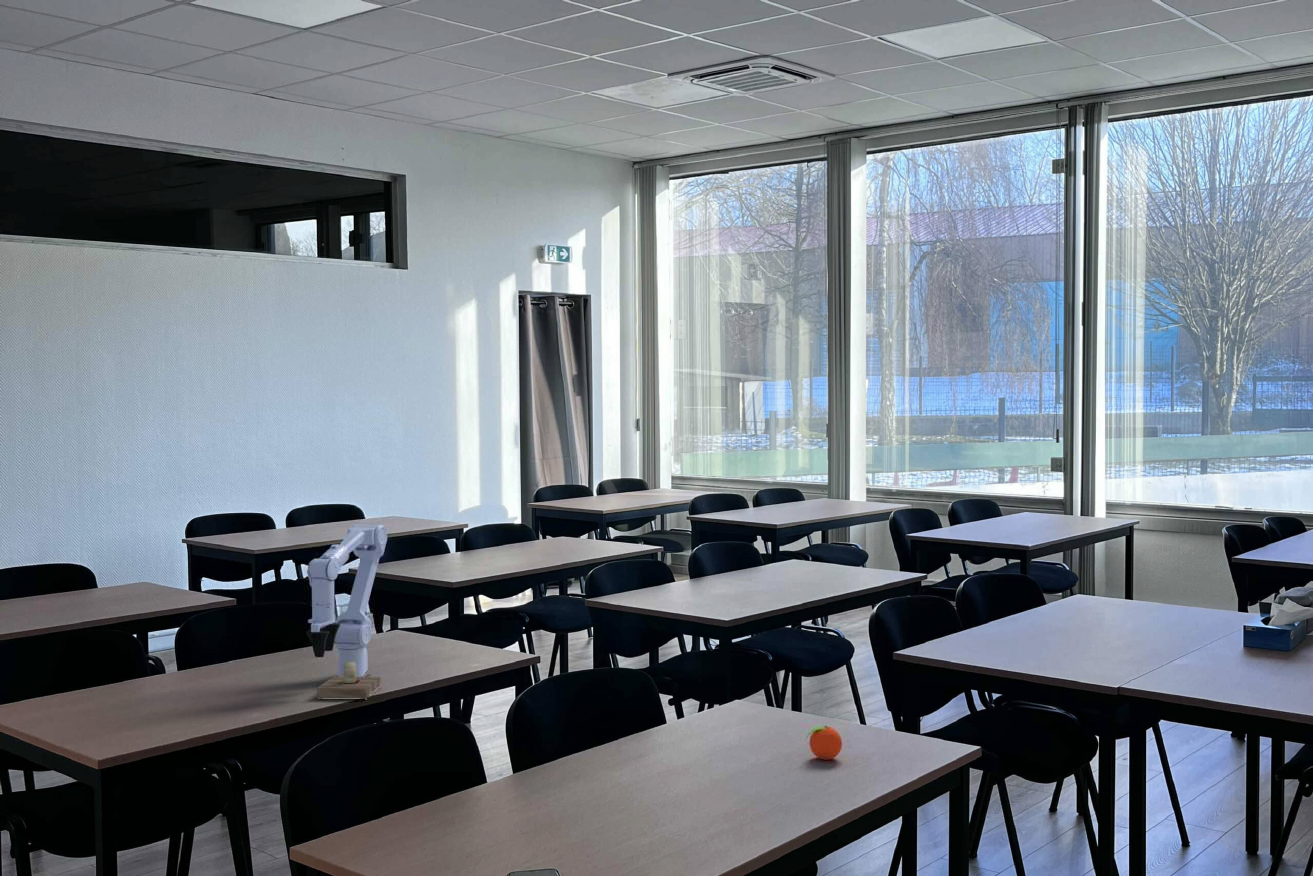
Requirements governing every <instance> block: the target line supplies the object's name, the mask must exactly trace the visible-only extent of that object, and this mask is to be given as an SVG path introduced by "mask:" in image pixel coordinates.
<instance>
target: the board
mask: <svg viewBox="0 0 1313 876" xmlns="http://www.w3.org/2000/svg"><path fill="white" fill-rule="evenodd" d="M381 678H382V677H381V676H367V677H356V684H344V677H337V676H332V677H331V678H330V679H329V678H328V680H326V681H325V682H324V683H322V684H321V685H320V686H318V687H317V688H316V699H317V698H361V699H365V700H364V701H367V700H368V699H367V697H368V696H369V694H371V693H372V692H373V691H374V690H375V689H376V688H377V687H379V686H380V684H381V685H382V679H381Z"/></svg>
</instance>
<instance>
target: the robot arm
mask: <svg viewBox="0 0 1313 876" xmlns="http://www.w3.org/2000/svg"><path fill="white" fill-rule="evenodd" d="M387 541H388V534H387V529H386V528H385V526H384V525H383V524H357V523H353V524H351V525H350V527H348V529H347V532H346V536H345V537H344V538H343V540H342V541H341V542H340V543H339V544H338V543H337V544H331V546H330V548H329V549H327V550H326V551H325V552H324V553H323V554H322V555H321V556H320V557H319V558H313V559H312V560H311V561H310V562H309V563H308V565H307V569H306V575H307V578H308V579H309V585H310V587H311V607H312V609H311V611H312V612H311V613H312V614H311V616H312V617H311V618H309V619H308V620H307V623H308V624H310V629H308V630H307V631H306V636H307V638H308V639H309V641H310V643H311V646H312V651H313V655H314V657H315V658H324V655H325V653H326V652H332V651H334V646H335V648H336V649H337V673H338V675H337V676H339V677H344V663H347V662H355V663H356V677H359V676H363V675H364V674H365V672H366V671H367V670H368V671H369V668H368V663H369V662H368V660H369V659H368V649H367V645H368V644H369V643H370V641H371V638H372V625H373V623H372V620H371V619H370V618H369V617H368V616H367V615H366V612H367V609H368V608H367V607H368V604H369V601H370V598H371V597H370V596H371V592H372V588H373V585H374V581H375V577H376V572H377V570H378V566H379V561H380V558H381V557H382V556H384V553H385V548H386V544H387ZM351 552H353V553H354V555H355V556H356V557H358V558H359V563H358V567H357V571H356V575H355V579H354V581H353V585H352V588H351V589H352V590H351V594H350V597H349V601H348V604H347V608H346V611H344V612H342V613H341V614H339V615H337V617H336V614H335V580H336V579H337V578H338V575H339V571H340V570H341V568H342V566H343V565H344V564H346V562H347V561H348V560H349V559H350V553H351Z"/></svg>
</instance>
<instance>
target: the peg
mask: <svg viewBox="0 0 1313 876" xmlns="http://www.w3.org/2000/svg"><path fill="white" fill-rule="evenodd" d="M344 684H356V663H355V662H347V663H344Z"/></svg>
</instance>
